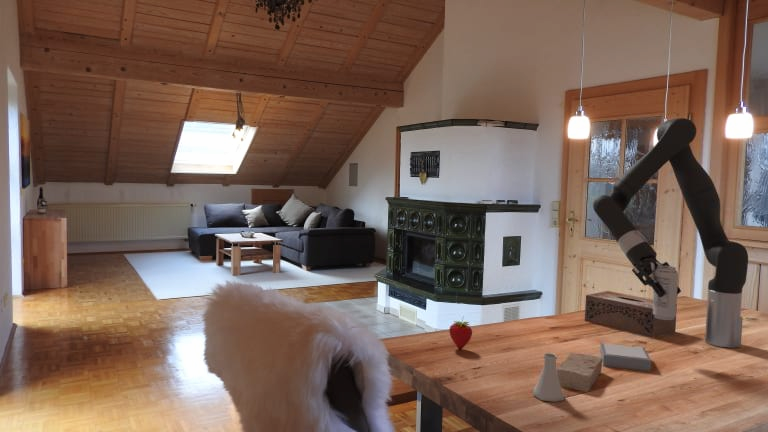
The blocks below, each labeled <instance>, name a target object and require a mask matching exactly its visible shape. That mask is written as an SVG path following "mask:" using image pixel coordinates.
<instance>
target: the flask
mask: <svg viewBox="0 0 768 432" xmlns="http://www.w3.org/2000/svg"><path fill="white" fill-rule="evenodd" d="M542 355H543V358H544V361H543V362H544V363H543V366H542V370H541V372H540V375H539V377H538V379H537V382H536V384H535V386H534V388H533V396H534V397H536V398H537V399H539V400H541V401H545V402H555V403H556V402H561V401H565V396H564V392H563V390H562V386H560V382H559V379H558V375H557V365H556V364H557V363H556V362H557V359H558V355H557V354H555V353H550V352H549V353H548V352H546V353H543V354H542Z"/></svg>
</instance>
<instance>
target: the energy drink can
mask: <svg viewBox="0 0 768 432" xmlns="http://www.w3.org/2000/svg"><path fill="white" fill-rule="evenodd" d="M655 274H656V279H657V283H658V282H659V284H660V285H661V286H662V288H663V289H664V290H665V292H666V294H665V295H664V296H663V297H659V296H658V295H657V294H656V292H655V291H654V290H653V298H652V299H653V314H654V315H655V318H657V319H662V320H673V319H674V317H676V318H677V313H676V307H678V303H677V302H678V295H677V286H679V285H678V283H679V279H678V278H679V273H678V271H677V267H675V266H673V265H670V266H657V269H656V270H655Z"/></svg>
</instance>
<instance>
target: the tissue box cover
mask: <svg viewBox="0 0 768 432" xmlns="http://www.w3.org/2000/svg"><path fill="white" fill-rule="evenodd" d="M584 306H585V307H584V322H587V323H591V324H595V325H599V326H604V327H608V328H611V329H615V330H620V331H623V332H627V333H632V334H634V335H639V336H644V337H647V338H652V339H657V338H660V337H663V336H666V335H671V334H673V333H676V327H677V316H676V317H674V319H673V320H662V319H657V318H655V315H654V314H653V298H647V297H641V296H638V295H637V296H636V295H631V294H626V293H621V292H620V293H619V292H616V291H610V290H604V291H599V292H595V293H589V294H585V305H584ZM677 307H678V306H677ZM677 307H676V314H677V313H678V311H677V310H678V309H677Z"/></svg>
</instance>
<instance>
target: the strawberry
mask: <svg viewBox="0 0 768 432" xmlns="http://www.w3.org/2000/svg"><path fill="white" fill-rule="evenodd" d="M464 317H465V316H464V315H463V317H462V320H461V321H458V320H457V321H455V320H454V321H453V322H454V323H452V324H451V325H450V326H449V331H448V332H449V335H450V338H451V340H452V342H453V343H454V345H455V346H456V348H457V349H458V350H463V348H464V347H465V346H466V345H467V344H469V342H470V340H471V339H472V336H473V330H472V328H471V326H470V324H469V323H470V322H469V321H463V320H464Z"/></svg>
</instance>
